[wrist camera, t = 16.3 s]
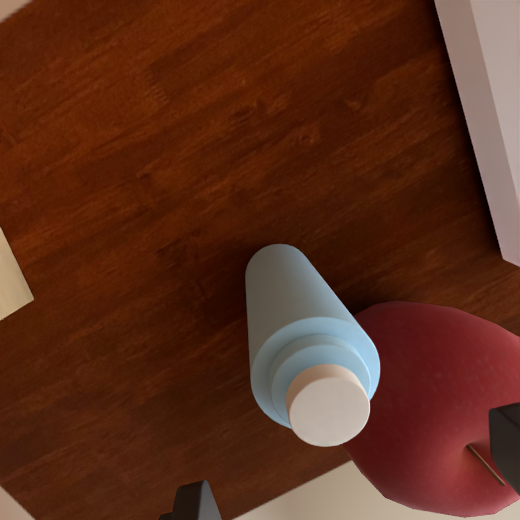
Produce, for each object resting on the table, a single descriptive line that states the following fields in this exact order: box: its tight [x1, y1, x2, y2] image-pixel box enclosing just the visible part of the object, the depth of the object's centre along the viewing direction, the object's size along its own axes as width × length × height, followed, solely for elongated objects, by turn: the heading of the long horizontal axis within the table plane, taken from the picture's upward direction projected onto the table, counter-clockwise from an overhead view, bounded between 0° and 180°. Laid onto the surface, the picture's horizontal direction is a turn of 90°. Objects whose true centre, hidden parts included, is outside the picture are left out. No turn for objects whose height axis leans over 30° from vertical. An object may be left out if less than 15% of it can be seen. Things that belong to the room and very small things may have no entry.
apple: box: [343, 300, 520, 517], centre depth 21 cm, size 12×12×13 cm
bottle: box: [245, 244, 380, 446], centre depth 18 cm, size 5×5×15 cm
